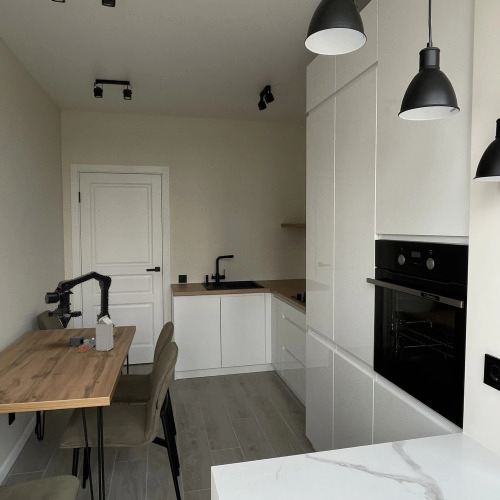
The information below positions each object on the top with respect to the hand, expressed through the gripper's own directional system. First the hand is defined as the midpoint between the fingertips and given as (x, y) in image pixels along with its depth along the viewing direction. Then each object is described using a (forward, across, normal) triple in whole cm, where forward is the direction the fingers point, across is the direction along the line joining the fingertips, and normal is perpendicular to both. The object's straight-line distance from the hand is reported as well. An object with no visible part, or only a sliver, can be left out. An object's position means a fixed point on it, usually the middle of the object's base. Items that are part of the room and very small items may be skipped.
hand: (65, 328), depth 240 cm
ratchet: (+10, +16, -6) cm, 20 cm away
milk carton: (+10, +28, -6) cm, 30 cm away
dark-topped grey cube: (+10, +8, 0) cm, 13 cm away
